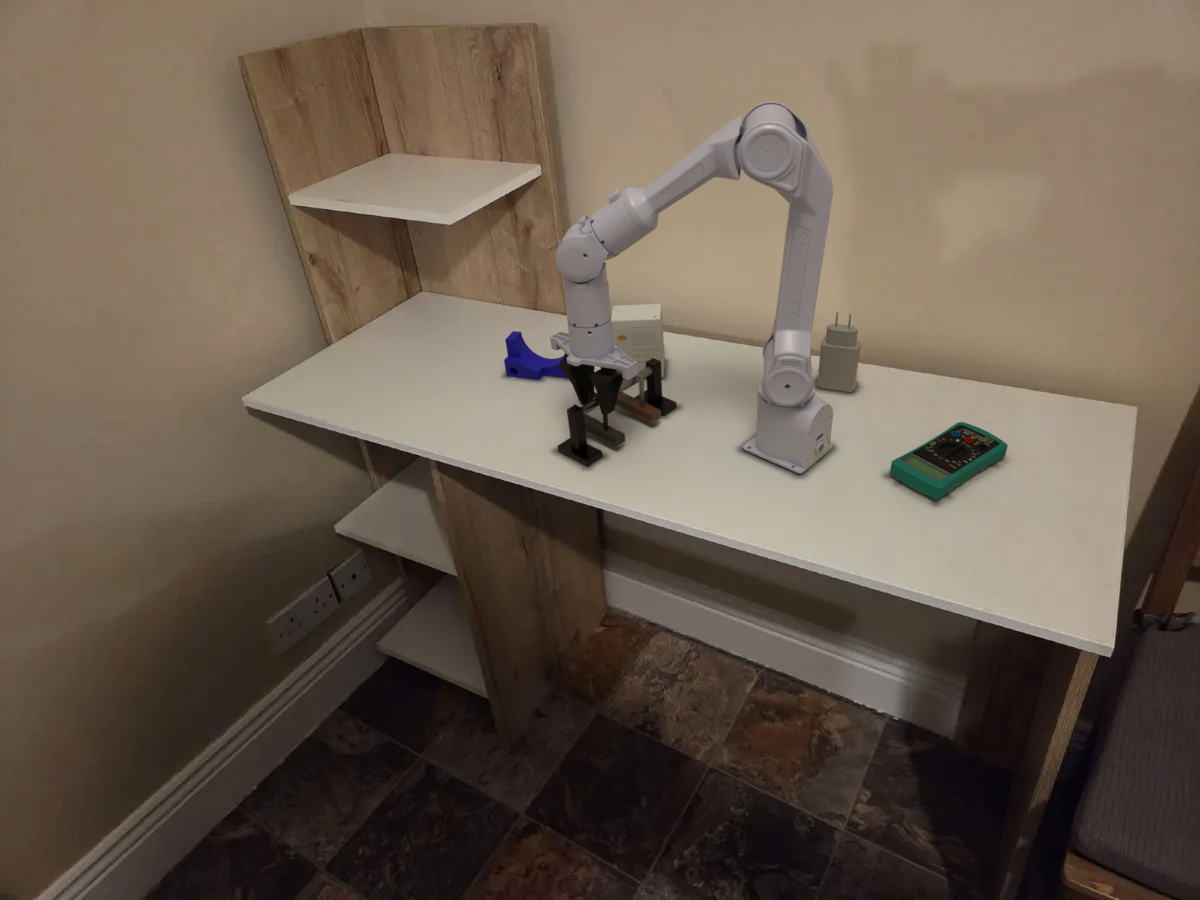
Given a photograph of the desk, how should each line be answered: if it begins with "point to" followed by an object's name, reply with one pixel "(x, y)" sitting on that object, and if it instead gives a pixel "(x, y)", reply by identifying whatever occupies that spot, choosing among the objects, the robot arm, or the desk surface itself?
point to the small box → (639, 332)
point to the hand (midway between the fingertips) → (597, 407)
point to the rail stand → (577, 441)
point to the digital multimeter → (948, 459)
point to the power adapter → (839, 357)
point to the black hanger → (602, 427)
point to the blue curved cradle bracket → (529, 361)
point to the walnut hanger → (638, 404)
